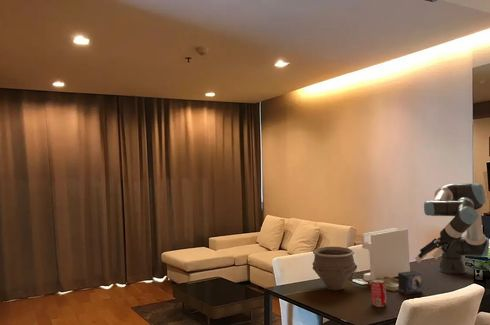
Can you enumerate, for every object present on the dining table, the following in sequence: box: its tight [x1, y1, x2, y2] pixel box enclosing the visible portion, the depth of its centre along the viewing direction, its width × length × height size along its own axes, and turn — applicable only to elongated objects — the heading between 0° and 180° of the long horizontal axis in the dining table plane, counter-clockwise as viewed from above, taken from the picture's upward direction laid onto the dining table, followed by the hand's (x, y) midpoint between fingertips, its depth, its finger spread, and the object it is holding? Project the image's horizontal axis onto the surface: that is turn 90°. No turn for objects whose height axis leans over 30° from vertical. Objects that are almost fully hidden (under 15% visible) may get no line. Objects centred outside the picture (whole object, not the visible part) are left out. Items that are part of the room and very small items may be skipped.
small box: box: [397, 270, 423, 296], centre depth 218 cm, size 11×6×10 cm, turn 105°
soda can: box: [370, 279, 388, 308], centre depth 199 cm, size 7×7×12 cm
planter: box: [311, 246, 358, 291], centre depth 230 cm, size 25×24×22 cm
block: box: [361, 227, 411, 282], centre depth 252 cm, size 35×8×28 cm, turn 124°
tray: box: [368, 276, 399, 293], centre depth 231 cm, size 14×18×2 cm
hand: (425, 258), depth 208 cm, fingers open, 13 cm apart
